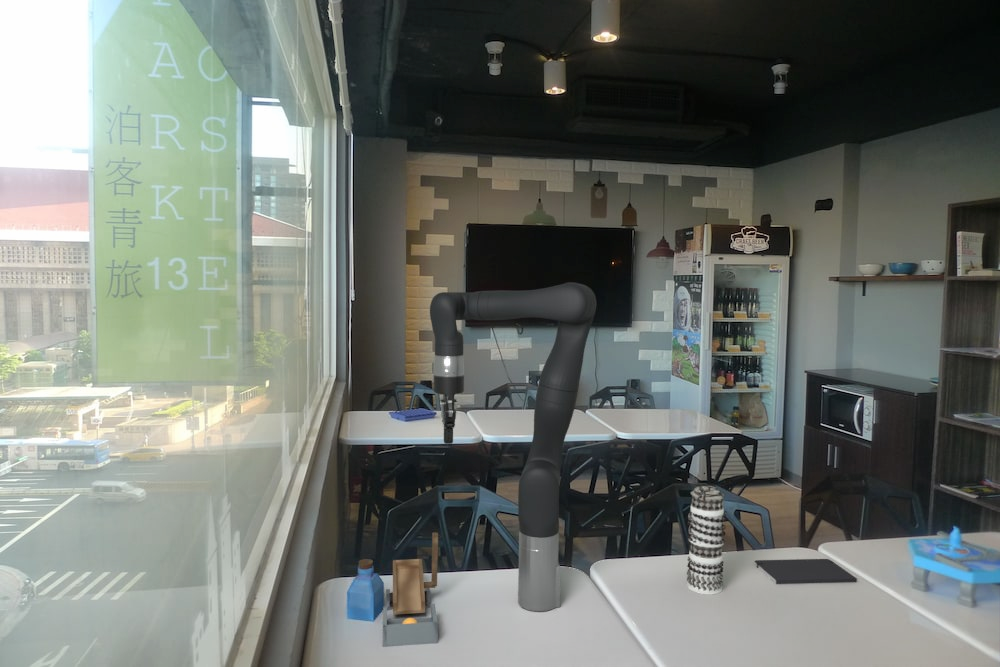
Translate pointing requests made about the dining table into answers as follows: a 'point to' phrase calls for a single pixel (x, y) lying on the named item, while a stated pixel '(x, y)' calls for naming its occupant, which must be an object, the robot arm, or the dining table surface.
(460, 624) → the dining table surface
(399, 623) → the tray
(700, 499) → the decorative candle
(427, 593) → the fulcrum
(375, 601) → the perfume bottle
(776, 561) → the notebook
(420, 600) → the lever
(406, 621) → the ball
